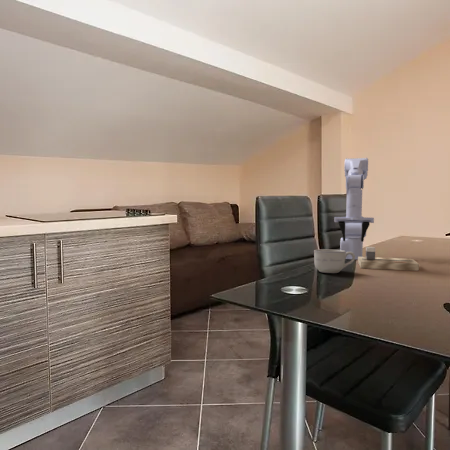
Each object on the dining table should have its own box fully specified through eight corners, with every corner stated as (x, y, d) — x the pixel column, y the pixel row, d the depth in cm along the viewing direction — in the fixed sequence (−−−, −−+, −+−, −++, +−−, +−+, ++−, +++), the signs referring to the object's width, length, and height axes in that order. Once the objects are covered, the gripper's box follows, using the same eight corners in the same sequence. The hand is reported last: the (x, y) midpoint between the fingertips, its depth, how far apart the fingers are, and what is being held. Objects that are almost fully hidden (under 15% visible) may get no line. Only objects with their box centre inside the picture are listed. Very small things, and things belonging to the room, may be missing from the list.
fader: (366, 259, 153) (367, 248, 153) (365, 257, 157) (365, 246, 157) (375, 259, 152) (375, 248, 152) (373, 257, 157) (374, 247, 156)
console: (360, 268, 150) (360, 261, 150) (357, 262, 162) (358, 256, 162) (418, 270, 146) (418, 263, 145) (411, 265, 157) (411, 258, 157)
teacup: (309, 273, 141) (310, 250, 140) (318, 268, 150) (318, 247, 149) (350, 277, 134) (351, 253, 133) (356, 271, 144) (357, 249, 143)
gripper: (334, 206, 153) (334, 241, 154) (375, 206, 149) (374, 242, 150) (334, 205, 160) (333, 239, 161) (373, 206, 156) (372, 240, 157)
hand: (353, 241), depth 156 cm, fingers open, 6 cm apart
